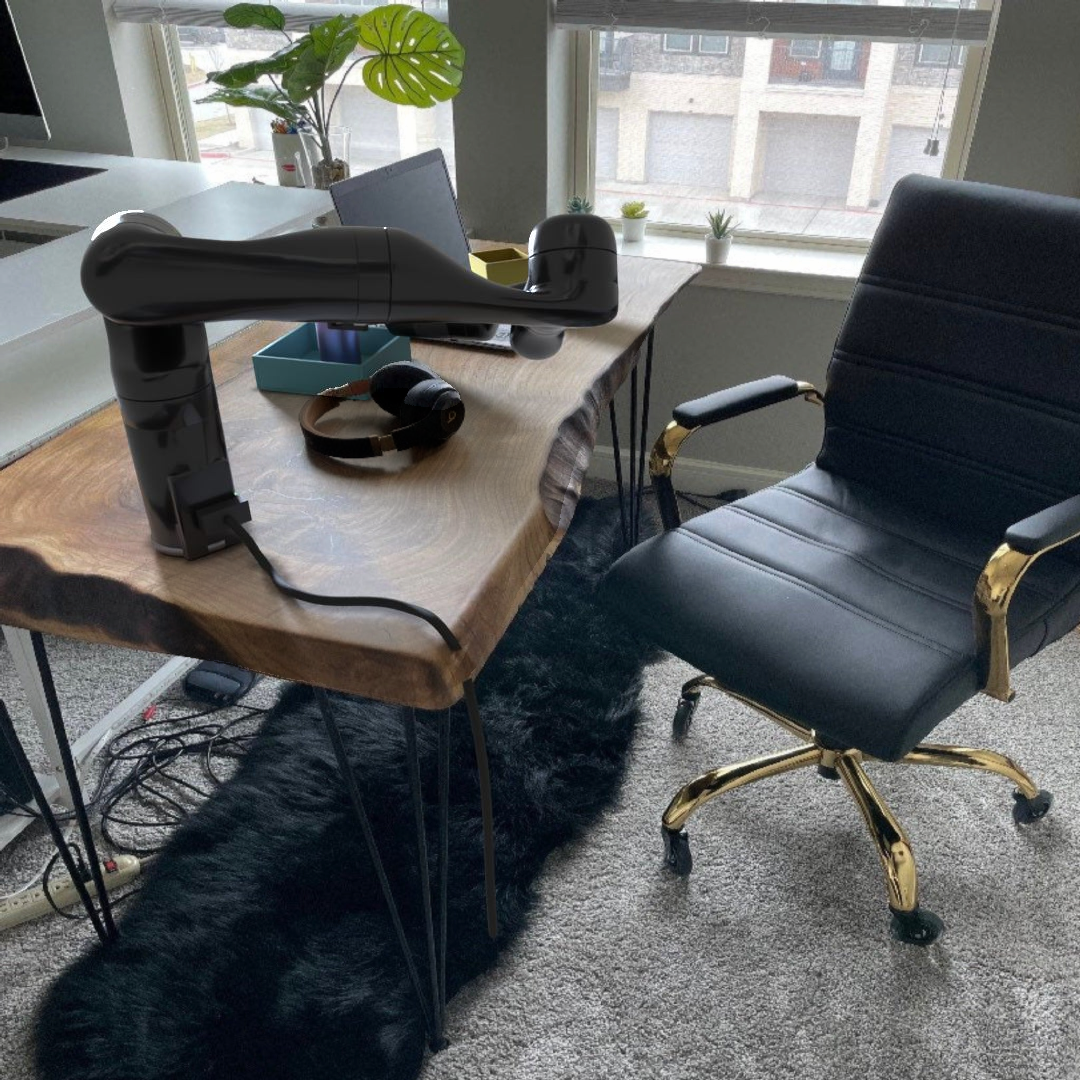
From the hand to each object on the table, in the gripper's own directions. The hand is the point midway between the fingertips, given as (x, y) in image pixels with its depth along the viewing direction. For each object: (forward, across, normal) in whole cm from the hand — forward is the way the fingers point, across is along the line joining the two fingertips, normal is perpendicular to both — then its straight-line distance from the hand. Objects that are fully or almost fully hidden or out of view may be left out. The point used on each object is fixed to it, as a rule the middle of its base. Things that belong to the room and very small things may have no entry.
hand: (319, 302), depth 142 cm
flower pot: (-14, +38, -11) cm, 42 cm away
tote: (-1, 0, -11) cm, 11 cm away
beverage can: (-2, +1, -10) cm, 11 cm away
